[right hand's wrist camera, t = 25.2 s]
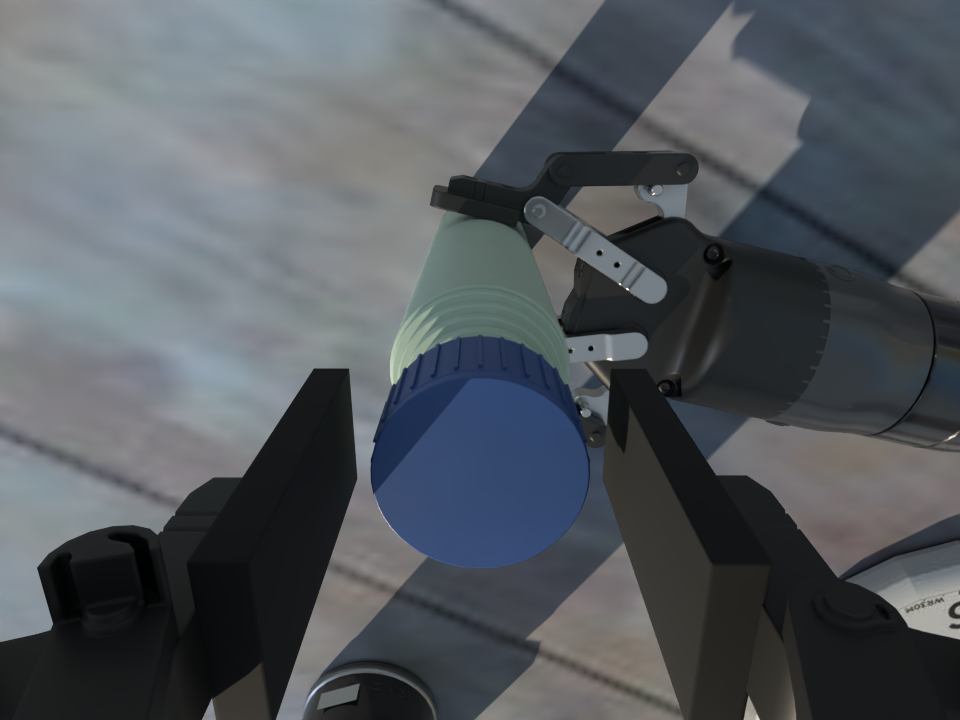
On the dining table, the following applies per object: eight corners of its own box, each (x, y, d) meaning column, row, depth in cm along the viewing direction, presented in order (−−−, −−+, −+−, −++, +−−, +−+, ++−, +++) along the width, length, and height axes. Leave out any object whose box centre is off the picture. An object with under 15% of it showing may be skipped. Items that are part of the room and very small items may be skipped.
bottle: (541, 224, 35) (646, 410, 13) (498, 302, 36) (526, 587, 14) (460, 180, 34) (425, 298, 12) (420, 261, 36) (322, 498, 14)
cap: (492, 291, 14) (494, 326, 11) (614, 433, 15) (638, 490, 12) (344, 413, 14) (320, 466, 12) (469, 537, 16) (468, 606, 13)
